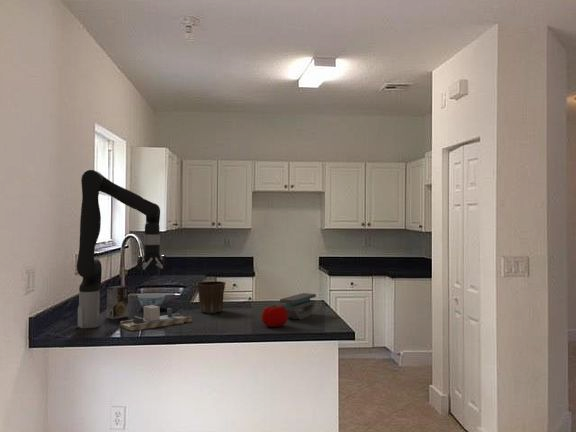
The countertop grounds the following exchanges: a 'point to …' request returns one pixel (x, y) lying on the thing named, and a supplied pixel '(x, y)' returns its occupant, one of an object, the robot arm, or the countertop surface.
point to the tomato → (274, 316)
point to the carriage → (162, 317)
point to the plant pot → (211, 296)
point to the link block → (151, 312)
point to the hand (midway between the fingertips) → (151, 276)
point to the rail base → (139, 324)
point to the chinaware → (151, 299)
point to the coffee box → (117, 302)
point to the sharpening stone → (299, 305)
